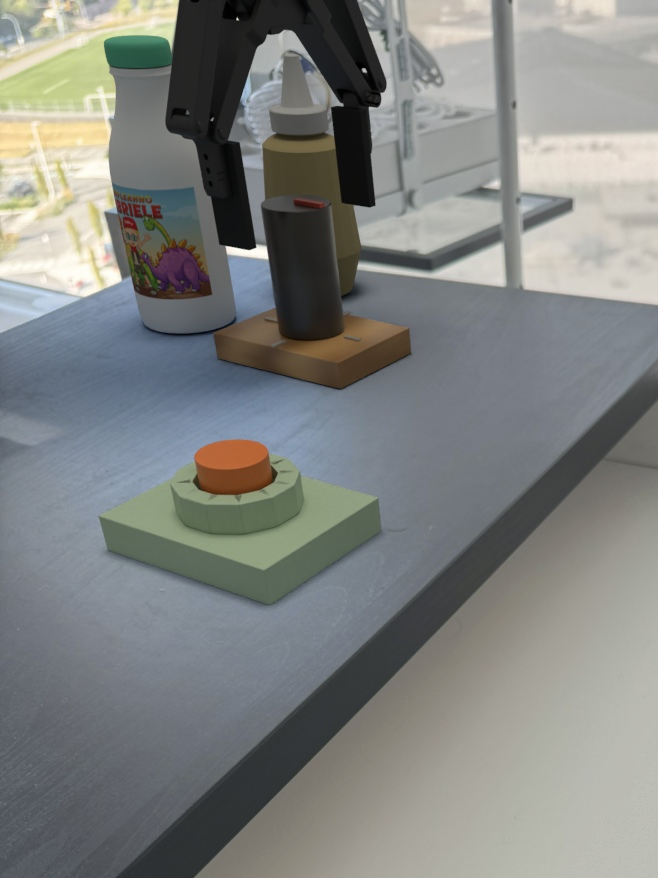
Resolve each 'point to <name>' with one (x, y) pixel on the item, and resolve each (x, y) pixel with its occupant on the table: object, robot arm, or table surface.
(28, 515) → the table surface
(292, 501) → the green button base
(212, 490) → the push button
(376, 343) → the panel
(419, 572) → the table surface
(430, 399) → the table surface
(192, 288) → the milk bottle
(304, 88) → the squeeze bottle
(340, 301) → the knob
